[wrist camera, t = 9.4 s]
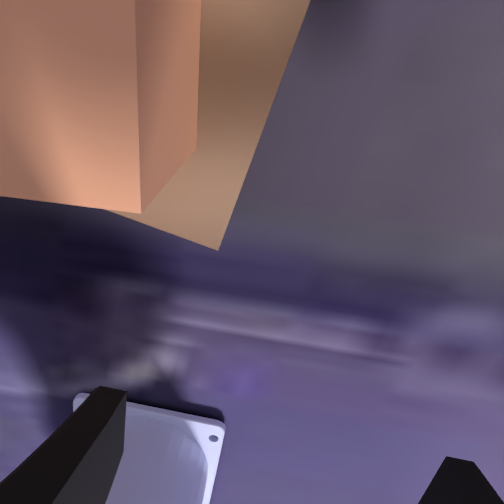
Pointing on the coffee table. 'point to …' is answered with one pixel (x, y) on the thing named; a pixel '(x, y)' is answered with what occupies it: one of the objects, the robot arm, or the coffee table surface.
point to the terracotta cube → (97, 99)
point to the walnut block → (226, 113)
